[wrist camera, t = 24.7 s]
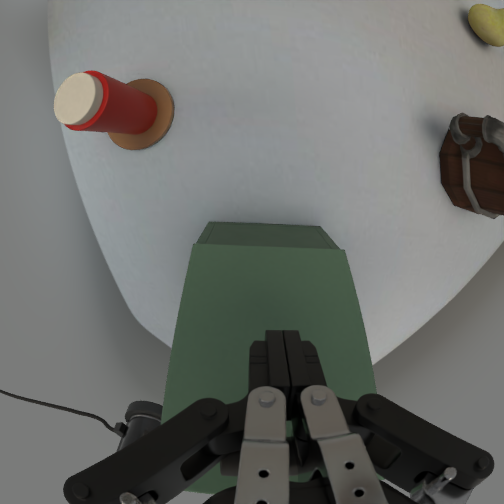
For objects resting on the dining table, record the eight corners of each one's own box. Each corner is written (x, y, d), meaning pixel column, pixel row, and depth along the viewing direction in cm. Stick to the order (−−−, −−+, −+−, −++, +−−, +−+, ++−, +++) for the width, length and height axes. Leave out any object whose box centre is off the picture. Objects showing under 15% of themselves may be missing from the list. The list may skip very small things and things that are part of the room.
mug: (500, 156, 26) (576, 173, 12) (474, 225, 29) (548, 265, 15) (434, 84, 23) (521, 67, 9) (401, 163, 27) (495, 181, 13)
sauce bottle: (129, 142, 26) (61, 143, 14) (112, 109, 24) (43, 96, 13) (164, 118, 25) (109, 101, 14) (146, 85, 24) (87, 54, 12)
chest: (302, 347, 36) (312, 389, 28) (211, 345, 35) (204, 387, 28) (320, 226, 30) (341, 250, 22) (208, 221, 30) (194, 244, 22)
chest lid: (380, 479, 10) (429, 474, 7) (158, 484, 10) (123, 489, 6) (342, 256, 22) (359, 207, 19) (194, 250, 22) (187, 198, 19)
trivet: (126, 163, 27) (123, 164, 27) (98, 108, 25) (94, 107, 24) (187, 123, 26) (185, 123, 25) (155, 67, 24) (152, 65, 23)
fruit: (486, 57, 20) (539, 46, 9) (452, 19, 19) (504, -3, 8) (493, 36, 18) (541, 25, 7) (461, 1, 17) (507, -20, 6)
